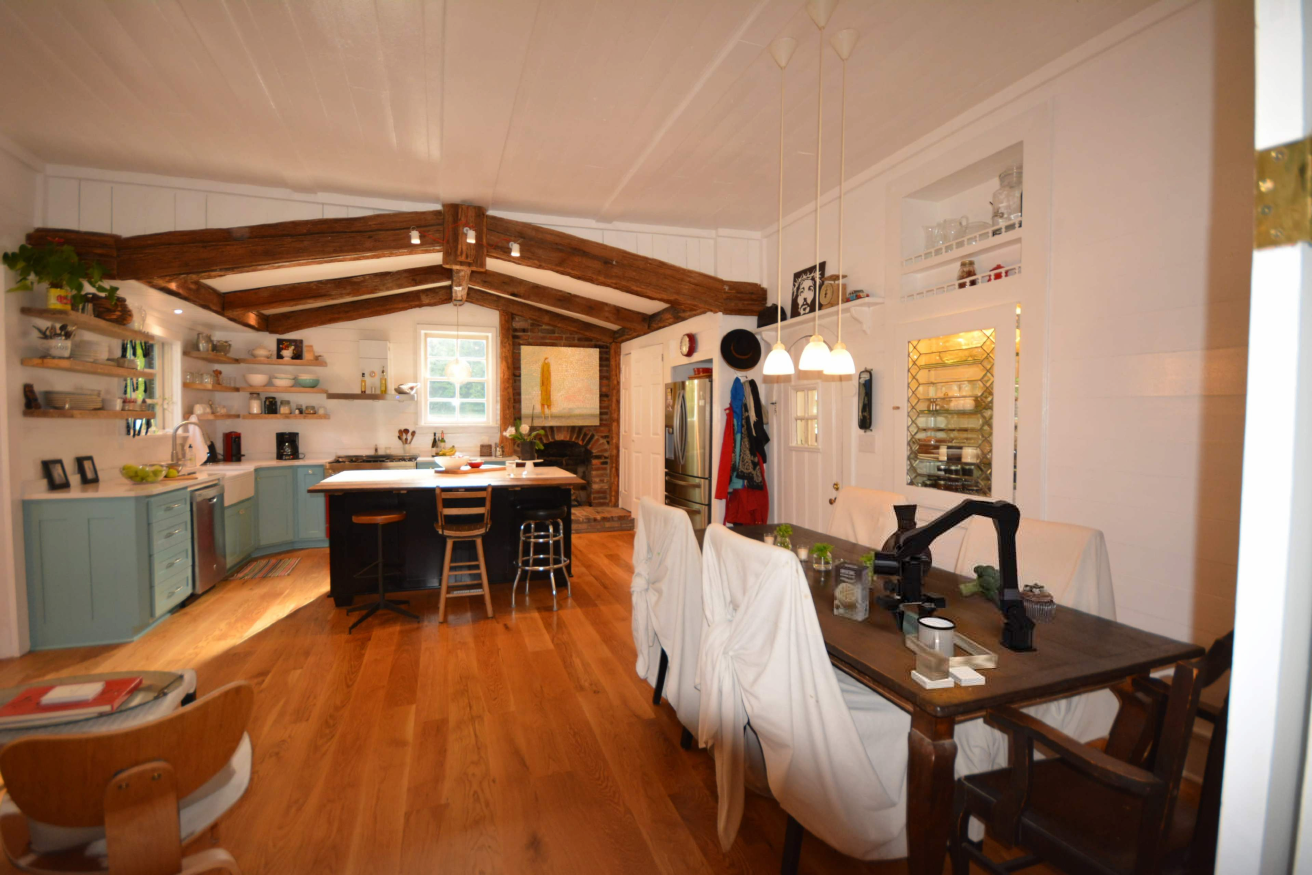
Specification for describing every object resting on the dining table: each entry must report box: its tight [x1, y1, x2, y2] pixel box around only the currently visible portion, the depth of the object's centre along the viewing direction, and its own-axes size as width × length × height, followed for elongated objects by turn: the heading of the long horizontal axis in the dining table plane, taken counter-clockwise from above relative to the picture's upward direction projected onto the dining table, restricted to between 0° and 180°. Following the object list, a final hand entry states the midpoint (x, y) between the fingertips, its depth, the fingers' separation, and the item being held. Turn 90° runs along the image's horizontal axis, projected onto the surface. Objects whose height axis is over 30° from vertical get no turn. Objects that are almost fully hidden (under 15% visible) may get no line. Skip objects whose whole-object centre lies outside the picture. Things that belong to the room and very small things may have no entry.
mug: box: [917, 614, 958, 658], centre depth 152 cm, size 12×10×9 cm
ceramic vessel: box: [880, 503, 933, 583], centre depth 215 cm, size 21×18×30 cm
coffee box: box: [833, 560, 871, 622], centre depth 182 cm, size 9×6×16 cm
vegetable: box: [958, 564, 1000, 602], centre depth 199 cm, size 12×13×15 cm
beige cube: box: [915, 649, 949, 681], centre depth 138 cm, size 5×5×5 cm
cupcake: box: [1020, 583, 1057, 622], centre depth 181 cm, size 10×10×10 cm
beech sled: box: [902, 610, 999, 670], centre depth 156 cm, size 15×24×6 cm, turn 9°
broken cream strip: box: [910, 667, 986, 690], centre depth 138 cm, size 15×6×2 cm, turn 99°
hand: (910, 630), depth 165 cm, fingers open, 6 cm apart
